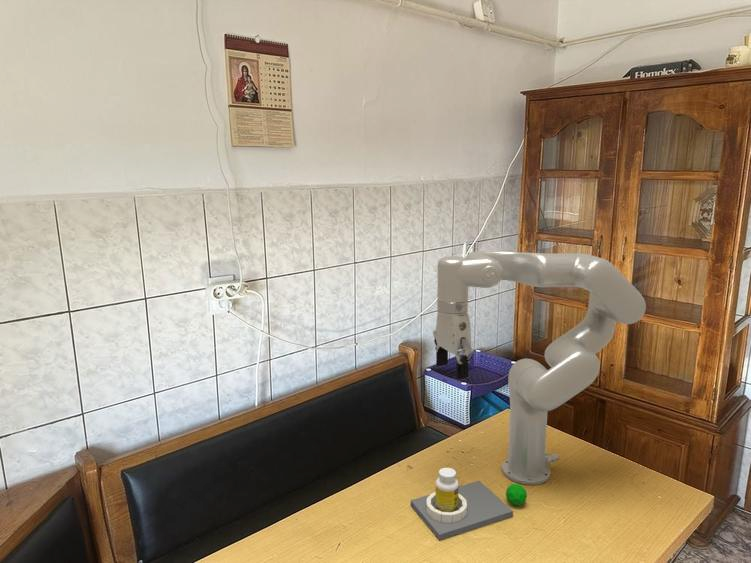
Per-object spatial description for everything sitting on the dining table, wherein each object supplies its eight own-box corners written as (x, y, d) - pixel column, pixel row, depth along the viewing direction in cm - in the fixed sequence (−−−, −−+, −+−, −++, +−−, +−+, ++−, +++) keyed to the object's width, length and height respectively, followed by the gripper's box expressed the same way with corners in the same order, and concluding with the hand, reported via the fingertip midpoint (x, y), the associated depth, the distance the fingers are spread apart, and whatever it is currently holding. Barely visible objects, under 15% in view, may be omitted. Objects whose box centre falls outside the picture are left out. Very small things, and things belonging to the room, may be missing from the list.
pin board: (479, 485, 139) (479, 473, 138) (512, 516, 127) (513, 503, 126) (410, 505, 132) (410, 492, 131) (439, 540, 119) (439, 526, 118)
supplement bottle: (457, 517, 124) (458, 479, 122) (434, 515, 125) (434, 477, 123) (458, 503, 129) (459, 466, 127) (436, 501, 131) (436, 464, 128)
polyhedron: (503, 497, 134) (503, 480, 133) (522, 496, 134) (522, 479, 133) (509, 510, 129) (510, 492, 128) (529, 508, 129) (530, 491, 129)
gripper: (485, 312, 127) (483, 380, 130) (447, 297, 142) (447, 358, 146) (458, 316, 124) (457, 386, 127) (422, 300, 139) (422, 362, 143)
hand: (451, 371), depth 136 cm, fingers open, 9 cm apart
